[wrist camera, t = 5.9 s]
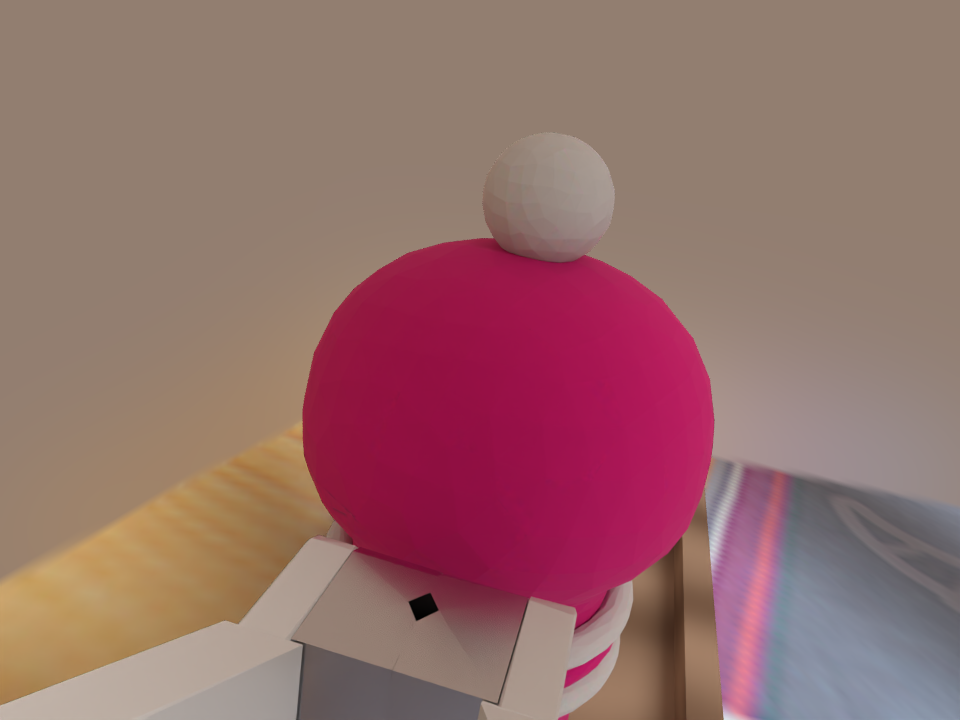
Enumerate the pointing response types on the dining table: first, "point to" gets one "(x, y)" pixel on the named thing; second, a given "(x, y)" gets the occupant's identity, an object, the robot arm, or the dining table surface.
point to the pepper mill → (516, 407)
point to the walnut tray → (667, 641)
